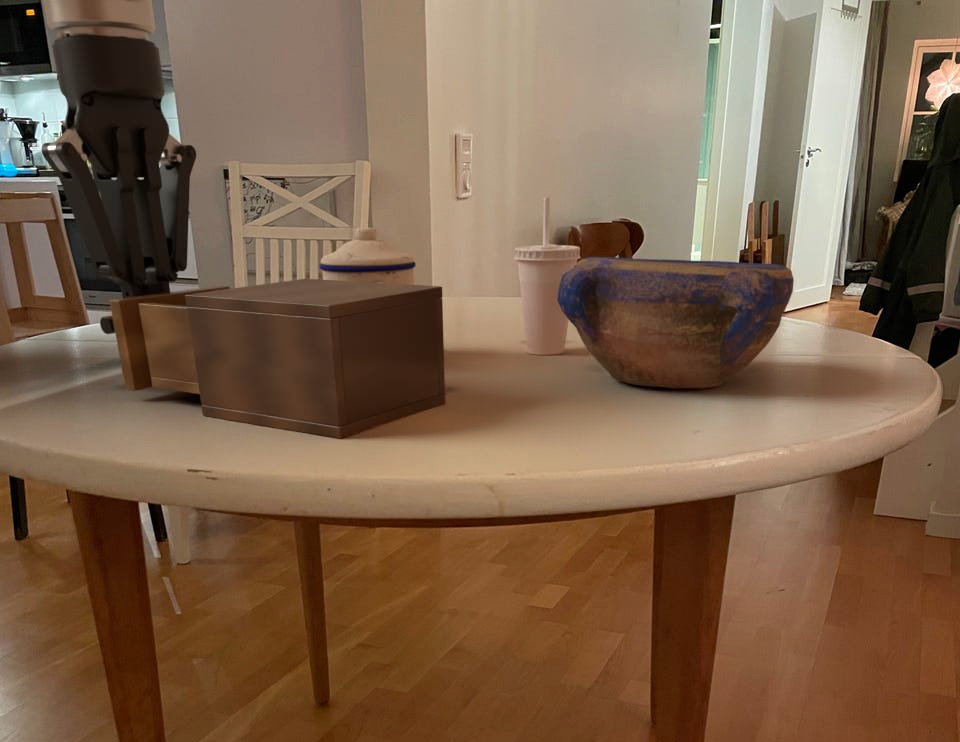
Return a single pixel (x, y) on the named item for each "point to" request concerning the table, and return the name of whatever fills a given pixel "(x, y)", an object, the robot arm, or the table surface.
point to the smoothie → (544, 290)
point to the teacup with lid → (368, 261)
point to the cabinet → (318, 353)
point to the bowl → (674, 316)
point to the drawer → (155, 340)
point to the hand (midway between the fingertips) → (158, 363)
